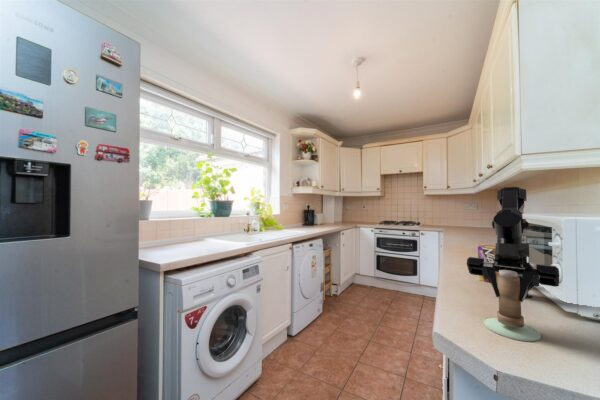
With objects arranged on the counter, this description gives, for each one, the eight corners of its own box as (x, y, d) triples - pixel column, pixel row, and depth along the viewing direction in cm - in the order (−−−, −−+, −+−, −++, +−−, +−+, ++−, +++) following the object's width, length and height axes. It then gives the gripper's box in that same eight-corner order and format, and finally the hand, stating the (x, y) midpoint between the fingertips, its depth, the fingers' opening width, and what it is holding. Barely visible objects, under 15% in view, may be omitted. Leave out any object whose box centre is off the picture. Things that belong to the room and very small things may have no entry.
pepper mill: (511, 317, 65) (509, 268, 65) (529, 327, 60) (527, 274, 60) (492, 318, 65) (490, 269, 65) (509, 327, 60) (506, 274, 60)
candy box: (509, 284, 97) (507, 246, 97) (503, 286, 95) (501, 247, 95) (484, 278, 105) (482, 243, 105) (478, 280, 103) (476, 244, 103)
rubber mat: (513, 319, 68) (513, 317, 68) (554, 341, 57) (554, 338, 57) (474, 319, 68) (474, 318, 68) (507, 341, 57) (507, 339, 57)
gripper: (466, 230, 72) (460, 275, 64) (556, 233, 60) (563, 290, 51) (471, 252, 78) (467, 296, 70) (555, 259, 65) (561, 315, 57)
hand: (508, 298), depth 62 cm, fingers closed on pepper mill, 4 cm apart
